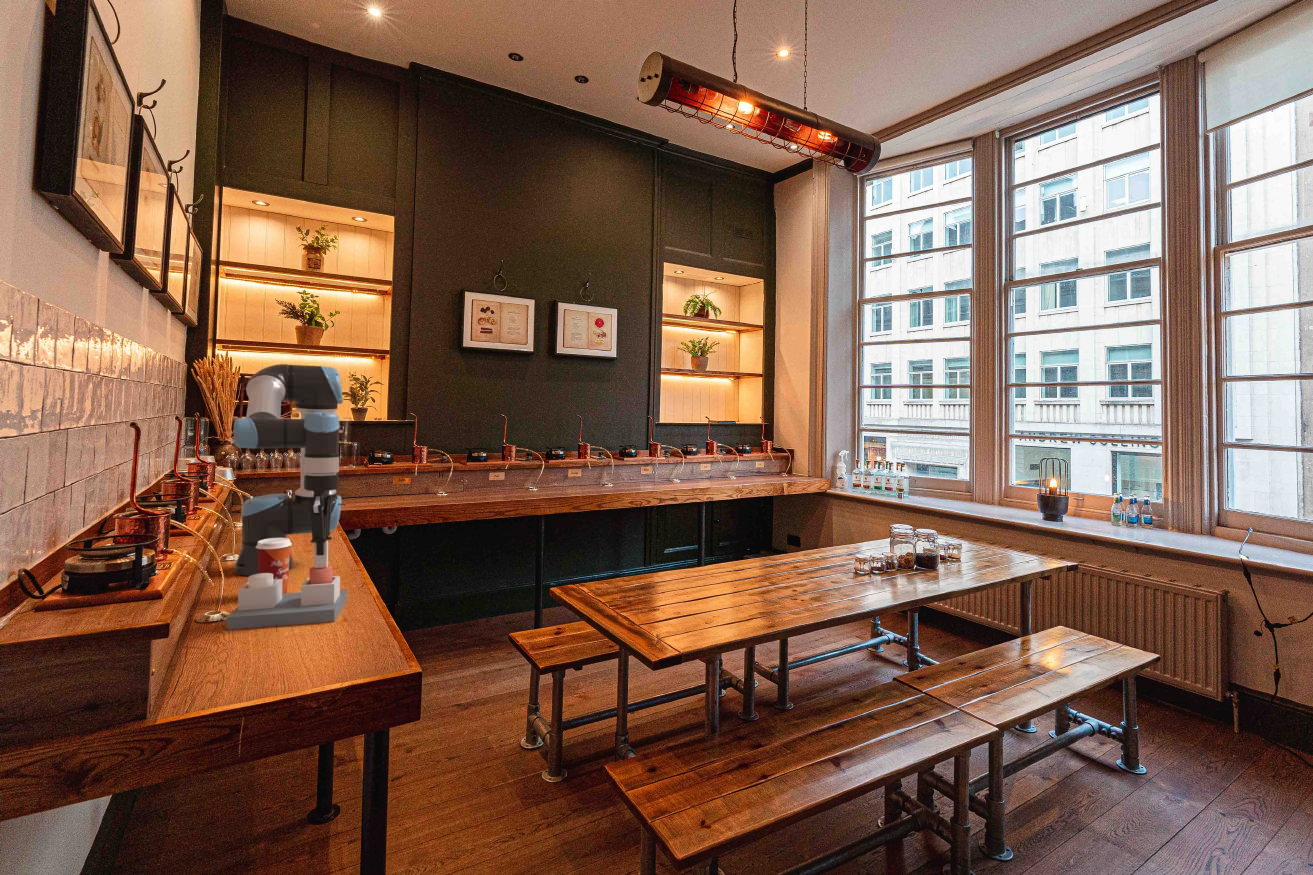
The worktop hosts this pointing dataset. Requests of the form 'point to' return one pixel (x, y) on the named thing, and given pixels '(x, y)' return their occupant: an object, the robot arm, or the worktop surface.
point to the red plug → (321, 575)
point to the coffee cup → (275, 558)
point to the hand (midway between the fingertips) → (321, 566)
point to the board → (287, 605)
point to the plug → (260, 580)
